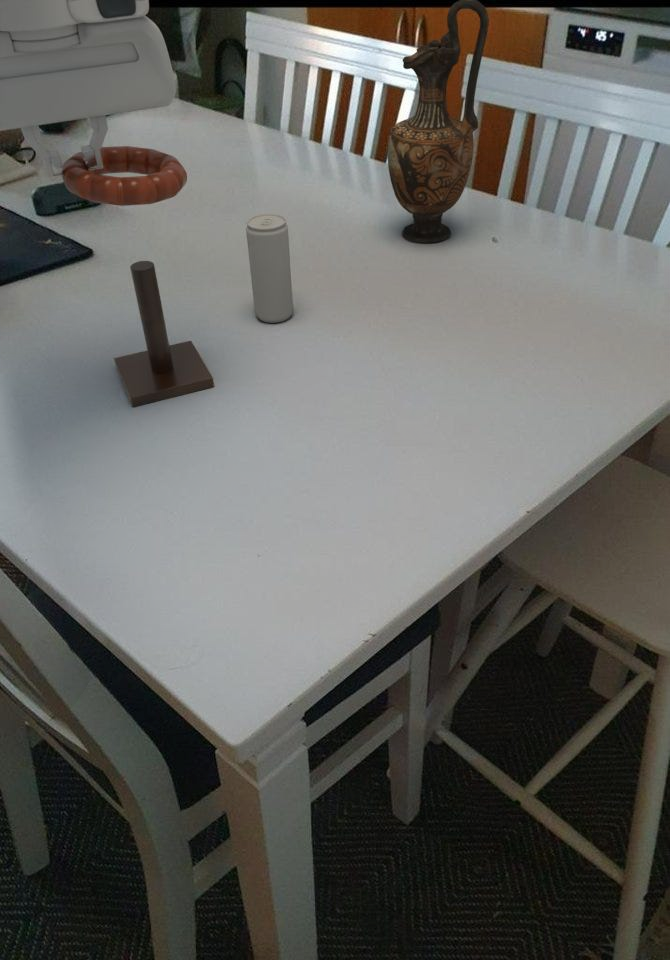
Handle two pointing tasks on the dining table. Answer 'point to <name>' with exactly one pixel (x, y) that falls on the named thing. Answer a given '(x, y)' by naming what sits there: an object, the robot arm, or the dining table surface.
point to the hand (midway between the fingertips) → (75, 171)
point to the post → (158, 351)
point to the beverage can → (270, 267)
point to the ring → (125, 191)
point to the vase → (435, 134)
